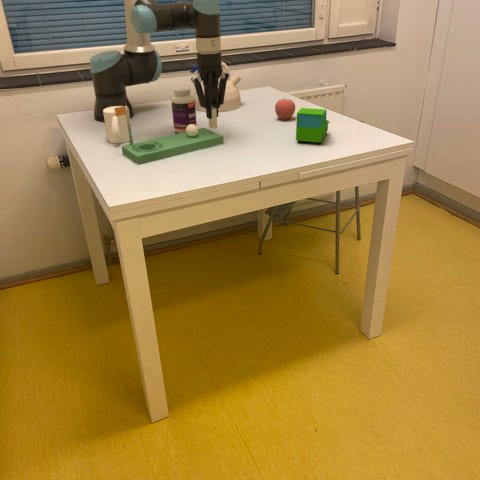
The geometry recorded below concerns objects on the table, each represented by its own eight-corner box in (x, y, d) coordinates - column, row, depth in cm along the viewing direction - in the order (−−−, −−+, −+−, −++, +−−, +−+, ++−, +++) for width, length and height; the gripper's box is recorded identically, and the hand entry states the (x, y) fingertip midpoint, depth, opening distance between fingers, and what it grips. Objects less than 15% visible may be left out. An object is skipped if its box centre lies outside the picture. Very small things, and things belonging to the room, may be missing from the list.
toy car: (331, 133, 161) (333, 104, 156) (324, 146, 151) (326, 114, 146) (301, 131, 164) (302, 102, 159) (292, 143, 154) (293, 112, 148)
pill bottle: (193, 134, 164) (190, 92, 157) (171, 134, 165) (166, 91, 158) (199, 127, 171) (196, 86, 163) (178, 127, 172) (174, 86, 165)
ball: (184, 136, 155) (182, 124, 153) (194, 133, 157) (193, 121, 155) (190, 139, 152) (189, 126, 150) (200, 136, 154) (200, 124, 152)
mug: (129, 105, 160) (126, 114, 150) (133, 135, 165) (130, 146, 155) (104, 106, 159) (99, 116, 149) (109, 136, 165) (104, 148, 154)
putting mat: (122, 153, 149) (121, 145, 148) (204, 134, 164) (204, 127, 162) (138, 164, 141) (137, 156, 139) (223, 143, 155) (223, 136, 154)
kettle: (242, 112, 188) (240, 64, 179) (189, 113, 188) (186, 65, 179) (242, 99, 205) (241, 55, 196) (194, 100, 206) (191, 56, 197)
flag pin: (120, 146, 147) (114, 107, 141) (132, 144, 149) (126, 105, 143) (121, 147, 147) (115, 108, 141) (133, 144, 149) (127, 106, 143)
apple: (272, 121, 176) (272, 99, 172) (278, 115, 181) (278, 94, 177) (291, 122, 173) (292, 100, 169) (297, 117, 179) (297, 95, 175)
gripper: (196, 55, 140) (202, 134, 151) (233, 50, 146) (235, 126, 158) (184, 52, 145) (190, 128, 157) (220, 48, 151) (223, 121, 163)
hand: (213, 127), depth 157 cm, fingers closed
